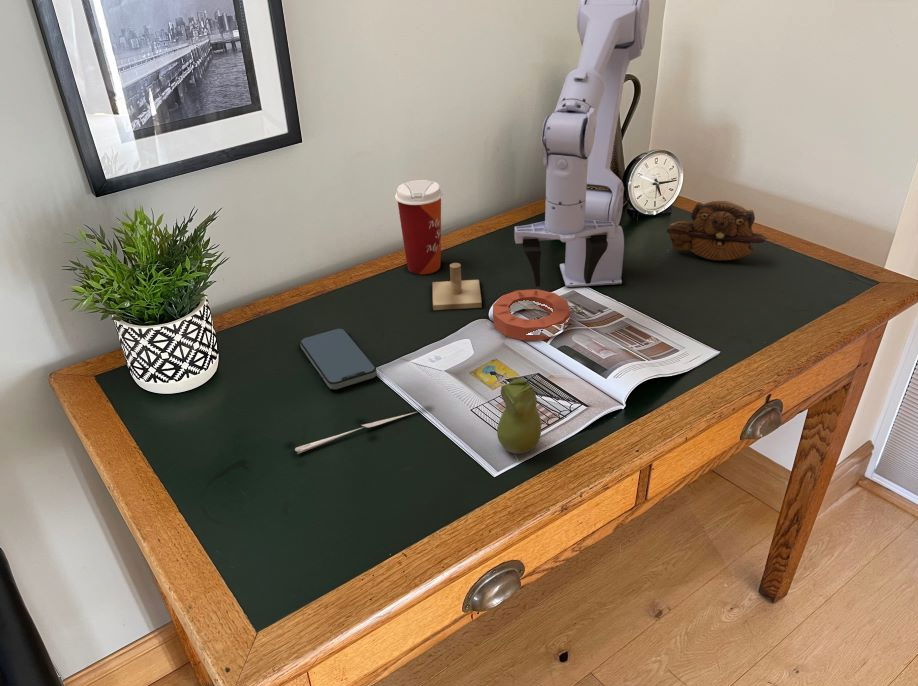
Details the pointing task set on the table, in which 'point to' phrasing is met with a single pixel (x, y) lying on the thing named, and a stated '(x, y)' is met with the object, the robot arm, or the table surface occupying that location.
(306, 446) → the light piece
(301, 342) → the smartphone
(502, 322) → the ring
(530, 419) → the pear
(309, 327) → the table surface
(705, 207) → the wooden carving
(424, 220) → the coffee cup
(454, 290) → the post
